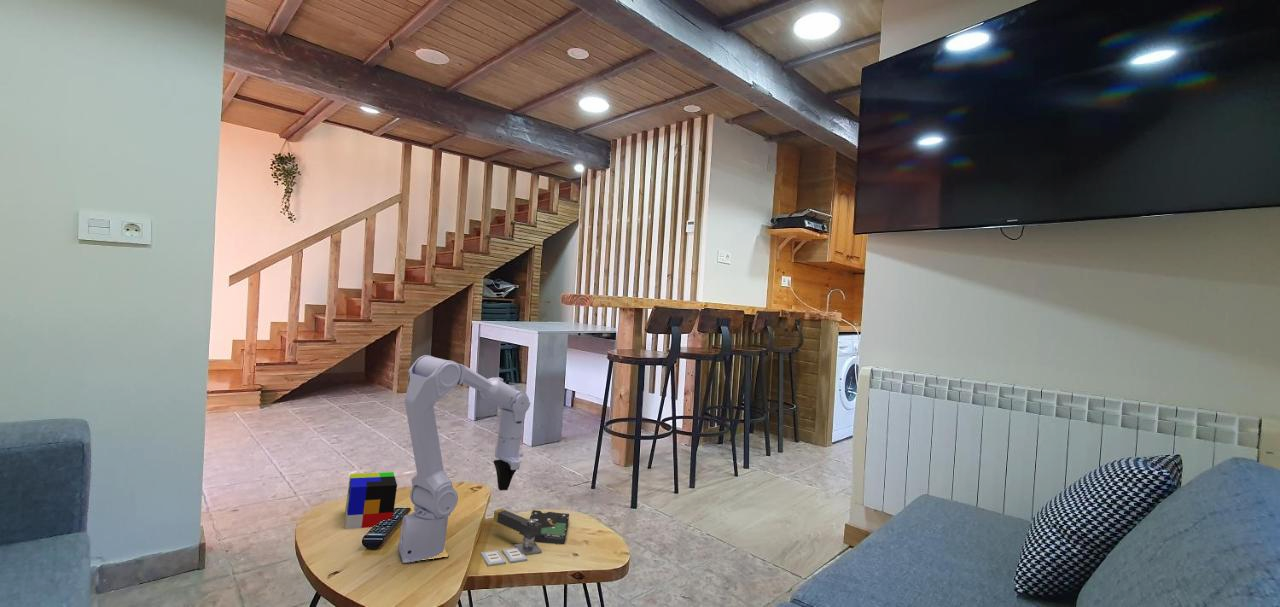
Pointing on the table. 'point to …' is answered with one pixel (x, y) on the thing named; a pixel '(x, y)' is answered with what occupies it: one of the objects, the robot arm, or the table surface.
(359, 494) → the puzzle toy
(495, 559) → the label plate
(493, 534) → the table surface
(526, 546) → the pivot stand
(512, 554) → the label plate
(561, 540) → the disk drive
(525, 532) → the swing arm
